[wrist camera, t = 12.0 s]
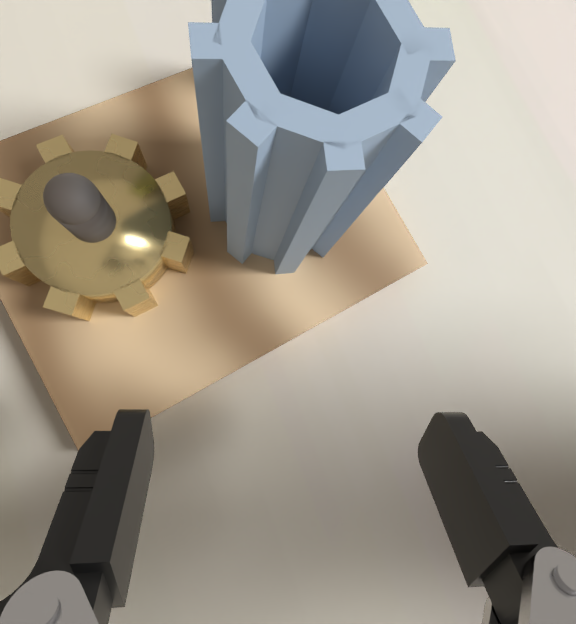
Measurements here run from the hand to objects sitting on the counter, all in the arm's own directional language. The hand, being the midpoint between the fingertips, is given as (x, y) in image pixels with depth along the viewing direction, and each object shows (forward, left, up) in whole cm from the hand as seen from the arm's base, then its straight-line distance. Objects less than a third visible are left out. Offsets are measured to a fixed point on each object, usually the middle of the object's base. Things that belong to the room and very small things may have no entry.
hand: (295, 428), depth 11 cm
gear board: (-1, -9, -8) cm, 12 cm away
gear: (+3, -10, -7) cm, 12 cm away
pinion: (-5, -8, -7) cm, 11 cm away
